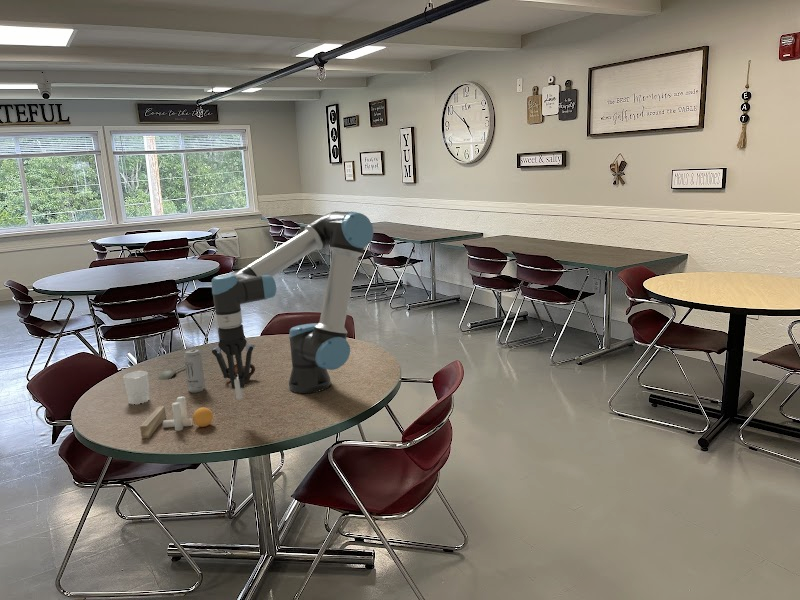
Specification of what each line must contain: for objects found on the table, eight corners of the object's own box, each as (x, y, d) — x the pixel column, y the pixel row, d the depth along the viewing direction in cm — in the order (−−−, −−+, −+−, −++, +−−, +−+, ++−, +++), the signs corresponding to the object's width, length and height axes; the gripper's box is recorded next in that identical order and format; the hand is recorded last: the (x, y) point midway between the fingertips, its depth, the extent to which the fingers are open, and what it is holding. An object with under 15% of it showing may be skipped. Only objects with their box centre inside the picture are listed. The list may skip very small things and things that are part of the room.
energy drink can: (184, 392, 221) (179, 353, 218) (195, 386, 227) (190, 348, 224) (198, 393, 219) (193, 354, 216) (208, 388, 224) (204, 349, 221)
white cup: (136, 406, 209) (132, 379, 207) (122, 403, 213) (118, 376, 211) (155, 399, 216) (152, 372, 213) (142, 395, 220) (138, 369, 218)
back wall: (166, 417, 198) (164, 405, 197) (148, 438, 183) (146, 425, 182) (159, 417, 198) (158, 406, 197) (141, 438, 183) (140, 426, 182)
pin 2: (184, 427, 189) (180, 401, 188) (181, 430, 187) (178, 404, 185) (176, 427, 189) (173, 402, 188) (174, 431, 187) (170, 405, 185)
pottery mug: (231, 389, 223) (221, 370, 224) (229, 393, 232) (219, 374, 232) (261, 375, 229) (251, 355, 229) (257, 379, 237) (247, 360, 238)
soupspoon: (153, 381, 238) (166, 384, 236) (152, 373, 237) (165, 376, 235) (193, 363, 258) (205, 365, 255) (192, 355, 257) (204, 357, 254)
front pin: (191, 416, 191) (164, 418, 191) (189, 420, 189) (162, 422, 189) (192, 423, 192) (165, 425, 192) (190, 427, 190) (163, 429, 189)
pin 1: (189, 421, 194) (185, 396, 193) (186, 424, 192) (183, 398, 190) (181, 421, 194) (178, 396, 193) (179, 424, 192) (175, 399, 190)
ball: (193, 418, 192) (212, 422, 194) (189, 428, 187) (208, 432, 188) (197, 402, 191) (216, 406, 192) (193, 411, 185) (212, 415, 186)
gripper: (205, 330, 181) (216, 404, 186) (249, 327, 181) (258, 400, 187) (211, 324, 188) (222, 394, 194) (253, 320, 189) (262, 391, 194)
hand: (239, 397), depth 190 cm, fingers closed
